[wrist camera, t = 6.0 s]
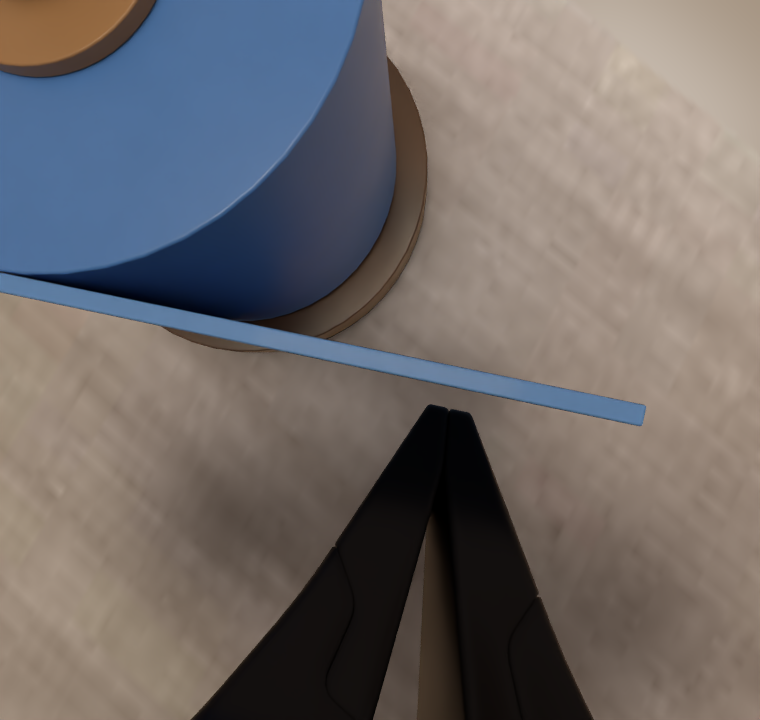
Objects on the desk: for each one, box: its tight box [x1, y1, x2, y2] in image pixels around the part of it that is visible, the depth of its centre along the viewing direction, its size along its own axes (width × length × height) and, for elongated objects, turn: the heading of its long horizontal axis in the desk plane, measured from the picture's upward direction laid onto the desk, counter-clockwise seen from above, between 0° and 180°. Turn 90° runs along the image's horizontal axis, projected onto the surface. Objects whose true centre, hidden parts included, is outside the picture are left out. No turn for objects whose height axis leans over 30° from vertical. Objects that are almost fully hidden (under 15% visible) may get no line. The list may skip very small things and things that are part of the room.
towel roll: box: [0, 0, 646, 426], centre depth 10 cm, size 10×15×10 cm
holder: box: [161, 57, 427, 352], centre depth 16 cm, size 12×12×2 cm
